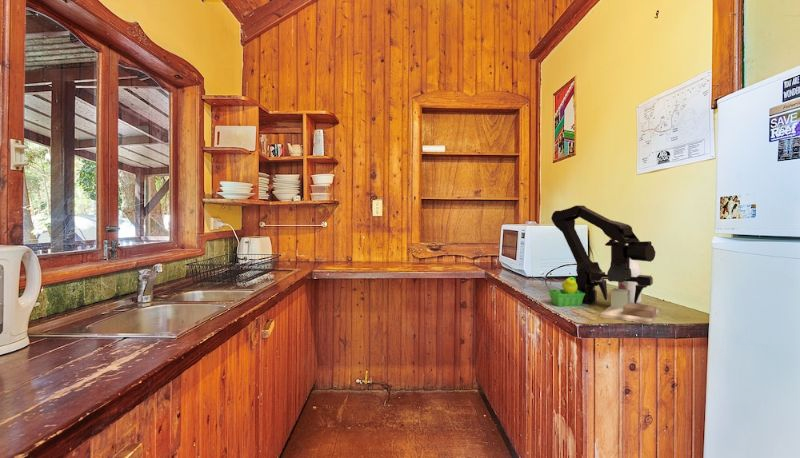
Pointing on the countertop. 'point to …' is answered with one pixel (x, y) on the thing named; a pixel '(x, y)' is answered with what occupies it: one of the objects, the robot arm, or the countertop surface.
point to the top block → (619, 297)
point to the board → (618, 314)
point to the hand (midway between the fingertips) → (620, 301)
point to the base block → (639, 310)
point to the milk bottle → (631, 285)
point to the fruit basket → (567, 294)
